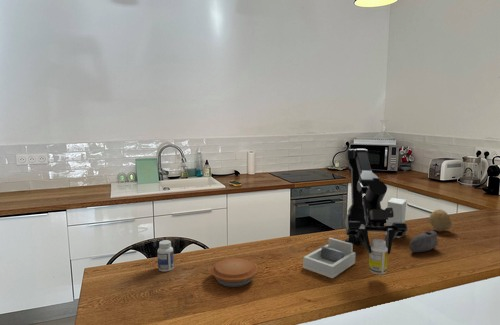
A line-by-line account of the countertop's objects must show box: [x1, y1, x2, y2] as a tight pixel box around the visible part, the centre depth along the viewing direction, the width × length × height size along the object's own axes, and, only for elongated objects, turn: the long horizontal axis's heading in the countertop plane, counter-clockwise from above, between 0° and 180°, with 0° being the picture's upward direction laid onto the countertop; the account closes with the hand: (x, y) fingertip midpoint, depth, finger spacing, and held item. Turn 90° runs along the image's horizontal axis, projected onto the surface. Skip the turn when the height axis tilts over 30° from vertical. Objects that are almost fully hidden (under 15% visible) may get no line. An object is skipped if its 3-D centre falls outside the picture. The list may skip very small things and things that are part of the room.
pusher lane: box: [302, 237, 356, 279], centre depth 125 cm, size 16×12×7 cm
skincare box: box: [385, 197, 407, 239], centre depth 156 cm, size 8×7×16 cm
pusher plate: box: [320, 245, 344, 262], centre depth 126 cm, size 1×8×4 cm, turn 47°
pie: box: [210, 257, 259, 288], centre depth 115 cm, size 16×16×5 cm
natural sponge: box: [428, 209, 453, 232], centre depth 160 cm, size 9×9×10 cm
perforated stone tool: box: [409, 230, 438, 253], centre depth 138 cm, size 15×5×7 cm, turn 116°
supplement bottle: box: [368, 238, 389, 275], centre depth 113 cm, size 6×6×10 cm
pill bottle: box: [157, 239, 175, 273], centre depth 123 cm, size 5×5×10 cm
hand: (379, 253), depth 112 cm, fingers closed on supplement bottle, 5 cm apart
